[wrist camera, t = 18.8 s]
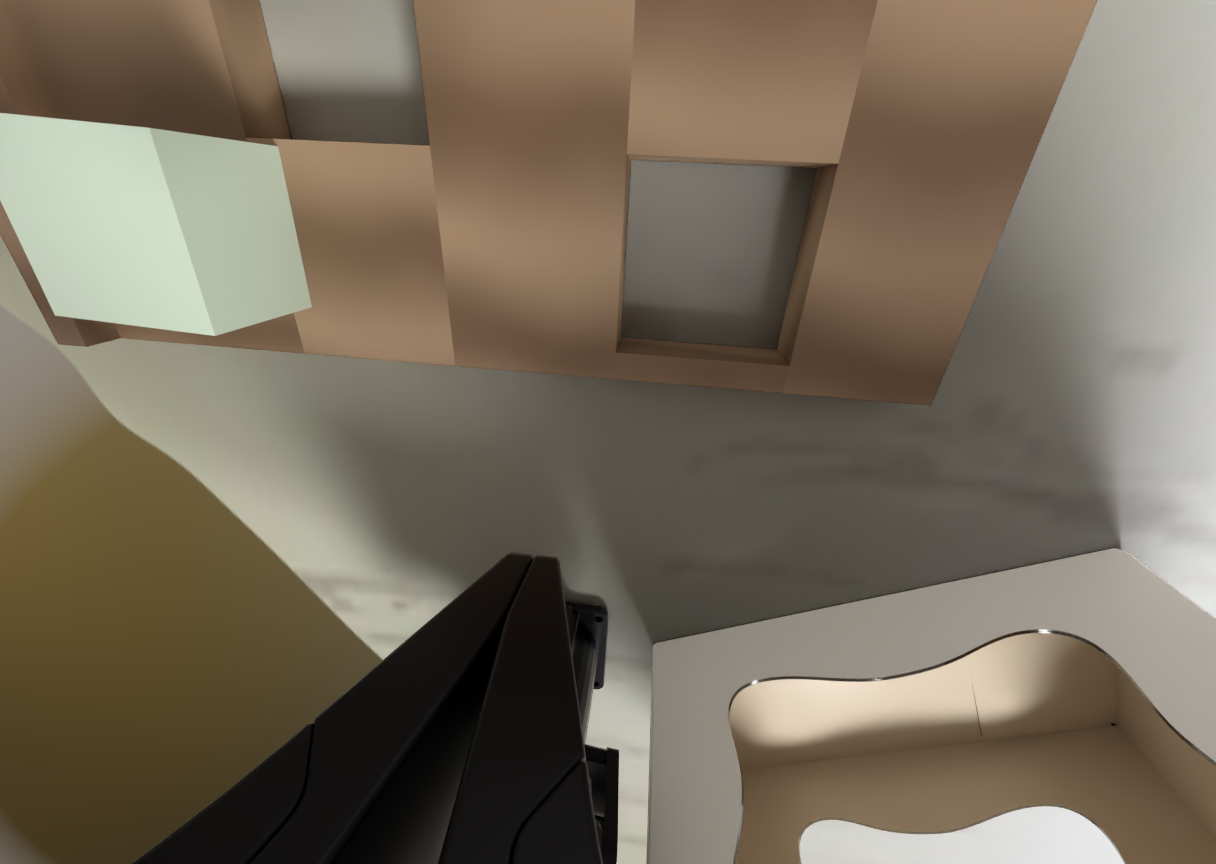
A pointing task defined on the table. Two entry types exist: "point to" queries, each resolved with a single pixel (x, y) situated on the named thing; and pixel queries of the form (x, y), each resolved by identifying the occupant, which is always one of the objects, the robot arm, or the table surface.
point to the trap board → (599, 170)
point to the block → (152, 224)
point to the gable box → (944, 716)
